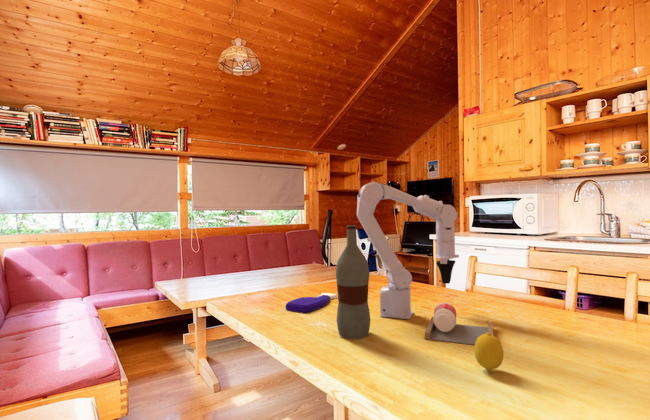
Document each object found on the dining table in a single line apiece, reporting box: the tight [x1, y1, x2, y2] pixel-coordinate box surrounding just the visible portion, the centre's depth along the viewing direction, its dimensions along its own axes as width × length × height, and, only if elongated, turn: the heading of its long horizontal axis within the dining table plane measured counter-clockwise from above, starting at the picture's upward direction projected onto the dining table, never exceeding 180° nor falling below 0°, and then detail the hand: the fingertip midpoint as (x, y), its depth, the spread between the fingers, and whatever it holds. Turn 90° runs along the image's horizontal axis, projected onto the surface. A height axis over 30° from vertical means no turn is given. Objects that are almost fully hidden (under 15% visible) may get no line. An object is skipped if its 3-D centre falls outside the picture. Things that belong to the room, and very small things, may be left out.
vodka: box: [335, 224, 371, 340], centre depth 101 cm, size 9×9×30 cm
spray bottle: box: [285, 292, 338, 314], centre depth 135 cm, size 3×11×24 cm
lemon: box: [473, 333, 504, 372], centre depth 76 cm, size 6×6×8 cm
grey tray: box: [424, 316, 494, 346], centre depth 99 cm, size 16×15×2 cm
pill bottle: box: [432, 302, 457, 332], centre depth 102 cm, size 6×6×11 cm
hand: (446, 283), depth 118 cm, fingers closed
